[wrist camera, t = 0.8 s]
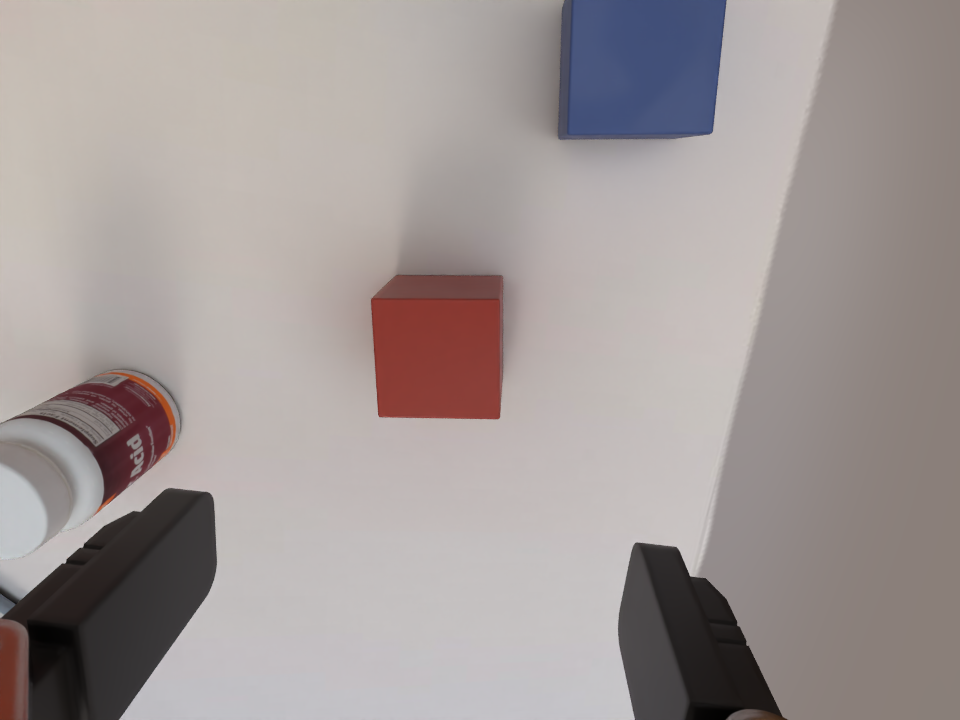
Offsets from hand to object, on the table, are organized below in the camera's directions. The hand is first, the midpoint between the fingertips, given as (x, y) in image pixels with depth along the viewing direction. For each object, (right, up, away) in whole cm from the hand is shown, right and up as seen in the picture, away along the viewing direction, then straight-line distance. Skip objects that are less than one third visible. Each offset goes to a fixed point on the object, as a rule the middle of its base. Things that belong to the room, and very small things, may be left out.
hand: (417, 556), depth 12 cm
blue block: (+6, +15, +11) cm, 20 cm away
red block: (0, +5, +15) cm, 16 cm away
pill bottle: (-15, +1, +17) cm, 23 cm away
